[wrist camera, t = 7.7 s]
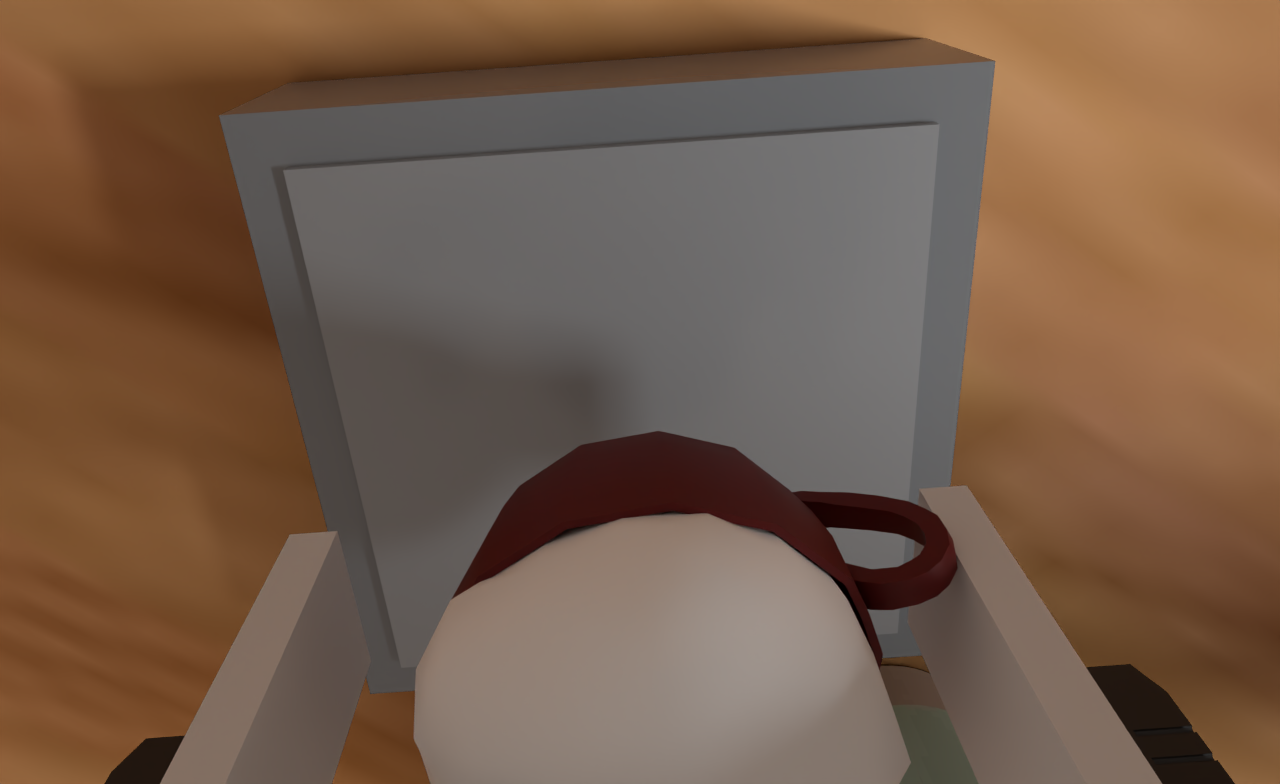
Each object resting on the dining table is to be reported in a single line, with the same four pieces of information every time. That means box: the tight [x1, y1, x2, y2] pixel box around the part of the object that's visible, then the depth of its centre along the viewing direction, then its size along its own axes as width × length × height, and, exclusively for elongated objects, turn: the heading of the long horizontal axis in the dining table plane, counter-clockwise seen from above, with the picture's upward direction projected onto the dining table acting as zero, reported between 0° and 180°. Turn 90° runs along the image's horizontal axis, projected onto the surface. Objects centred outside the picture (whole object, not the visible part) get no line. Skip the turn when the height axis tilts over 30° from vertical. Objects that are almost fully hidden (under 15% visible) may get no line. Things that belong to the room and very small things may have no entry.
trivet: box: [219, 38, 995, 694], centre depth 21 cm, size 14×14×4 cm
